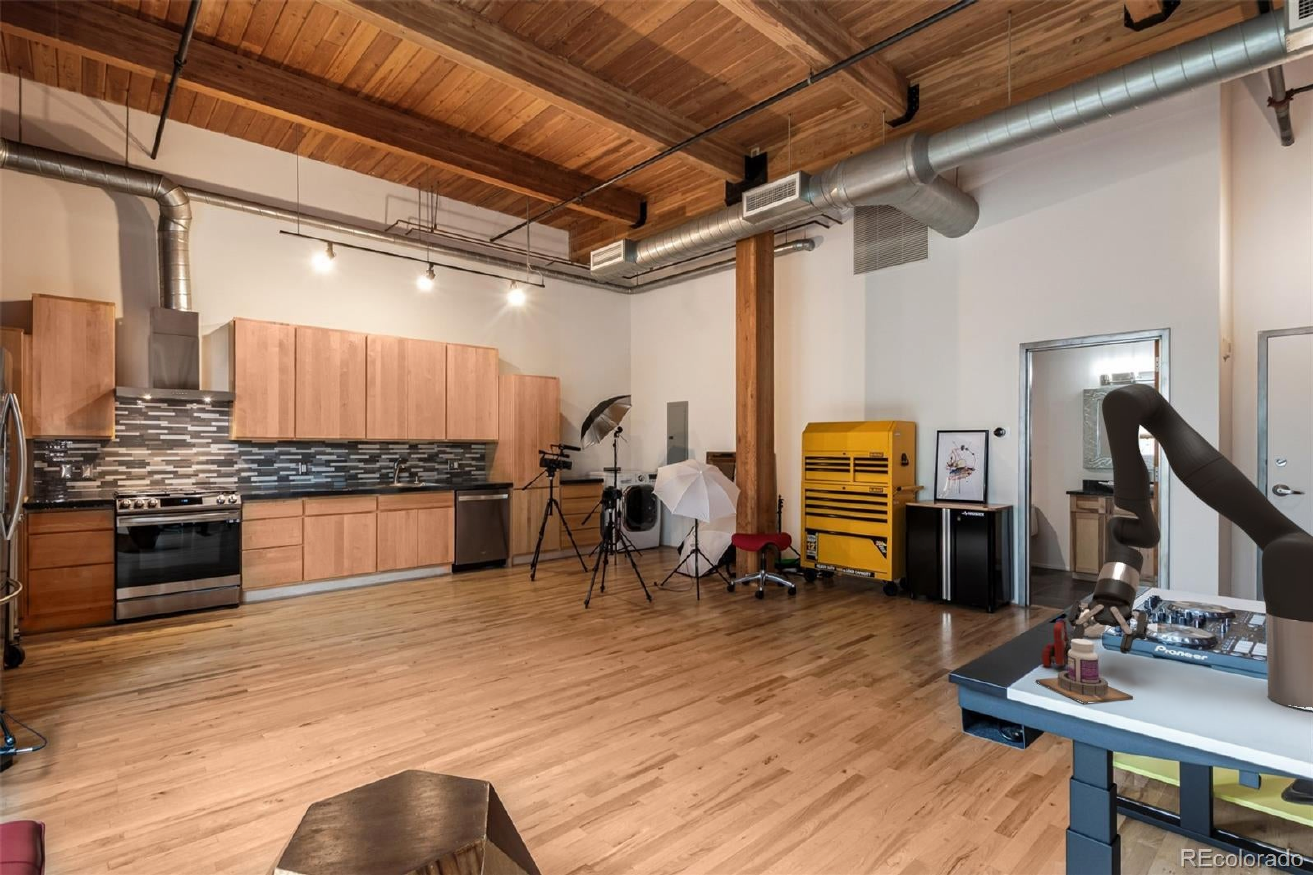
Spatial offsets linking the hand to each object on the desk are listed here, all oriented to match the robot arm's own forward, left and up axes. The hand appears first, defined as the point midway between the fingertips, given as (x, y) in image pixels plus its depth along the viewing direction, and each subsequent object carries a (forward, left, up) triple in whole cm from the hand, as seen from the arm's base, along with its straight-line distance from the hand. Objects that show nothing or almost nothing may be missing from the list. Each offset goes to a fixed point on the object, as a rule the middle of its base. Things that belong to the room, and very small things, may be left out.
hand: (1099, 646), depth 137 cm
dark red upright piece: (0, -10, -8) cm, 13 cm away
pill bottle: (+8, +4, -7) cm, 11 cm away
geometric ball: (-26, -27, -8) cm, 38 cm away
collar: (+8, +4, -7) cm, 12 cm away
